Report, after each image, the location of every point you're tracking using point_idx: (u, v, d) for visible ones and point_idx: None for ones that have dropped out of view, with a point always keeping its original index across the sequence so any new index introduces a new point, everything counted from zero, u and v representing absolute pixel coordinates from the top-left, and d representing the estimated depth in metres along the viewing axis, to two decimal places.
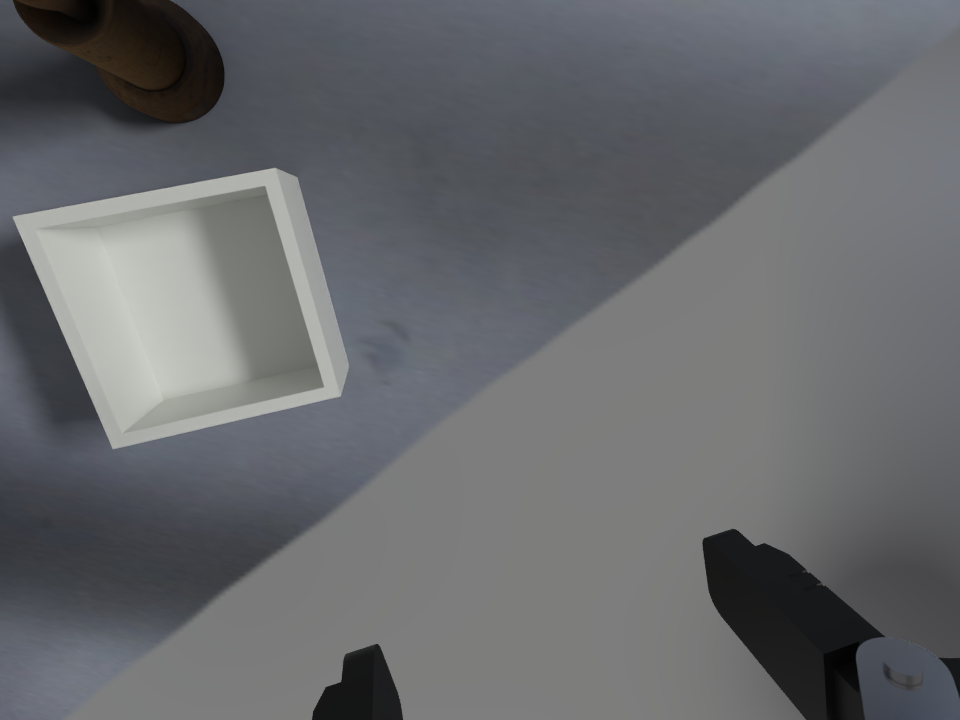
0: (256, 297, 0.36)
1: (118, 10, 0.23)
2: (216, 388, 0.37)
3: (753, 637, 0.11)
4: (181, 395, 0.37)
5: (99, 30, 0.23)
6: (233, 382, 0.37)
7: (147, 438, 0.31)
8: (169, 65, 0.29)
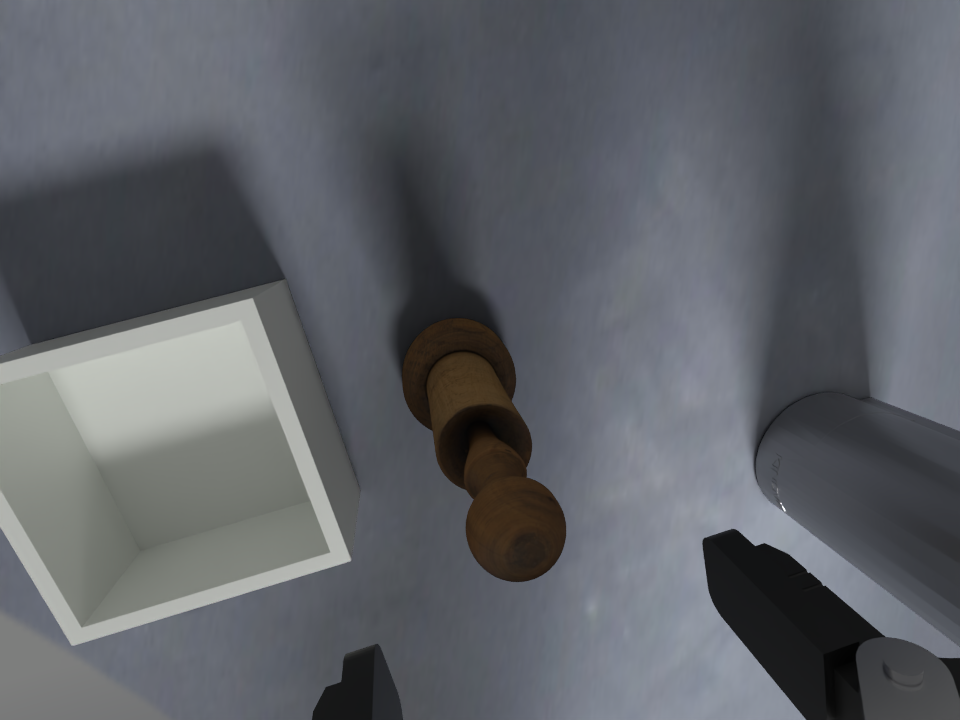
0: (212, 466, 0.30)
1: None
2: (74, 422, 0.28)
3: (753, 637, 0.11)
4: (54, 381, 0.27)
5: (456, 479, 0.21)
6: (87, 442, 0.29)
7: None
8: None
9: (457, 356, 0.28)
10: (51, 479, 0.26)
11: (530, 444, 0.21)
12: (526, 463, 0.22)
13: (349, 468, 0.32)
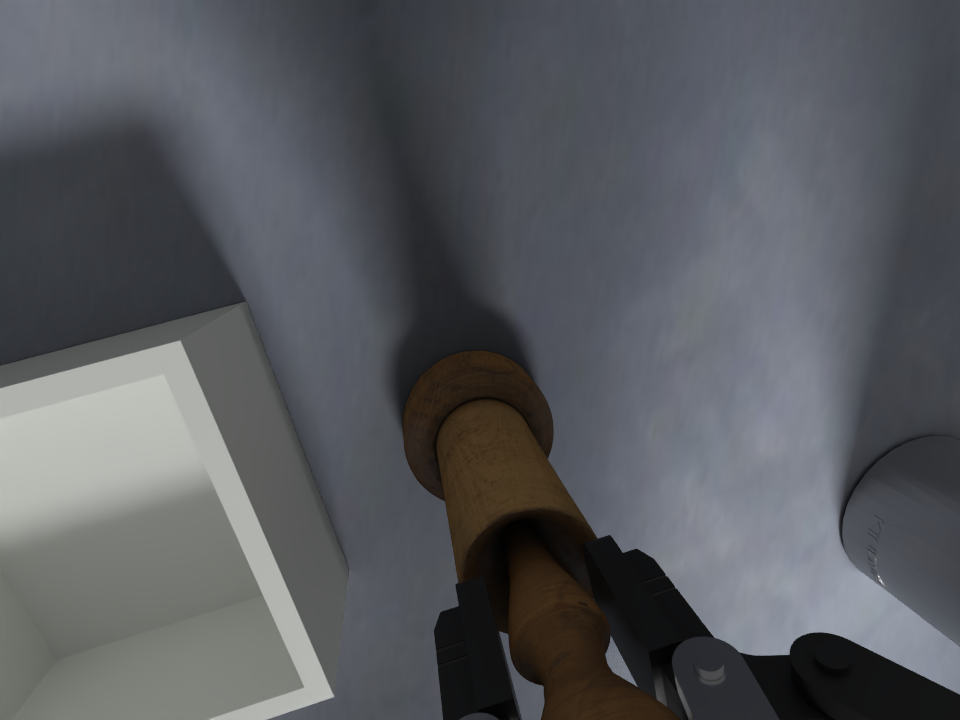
0: (150, 549, 0.23)
1: None
2: None
3: (617, 636, 0.12)
4: None
5: None
6: None
7: None
8: None
9: (478, 406, 0.20)
10: None
11: None
12: None
13: (334, 546, 0.24)
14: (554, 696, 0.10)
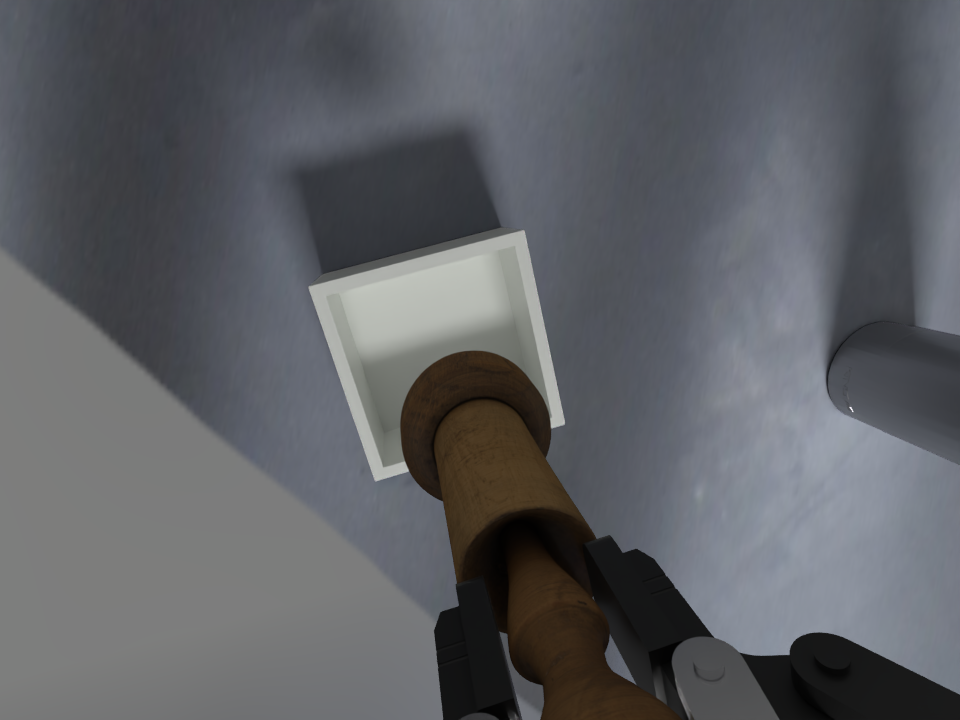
0: None
1: None
2: (351, 331, 0.39)
3: (617, 636, 0.12)
4: (341, 300, 0.38)
5: None
6: (358, 346, 0.39)
7: (322, 318, 0.32)
8: None
9: (475, 406, 0.20)
10: (355, 365, 0.36)
11: None
12: None
13: None
14: (554, 695, 0.10)
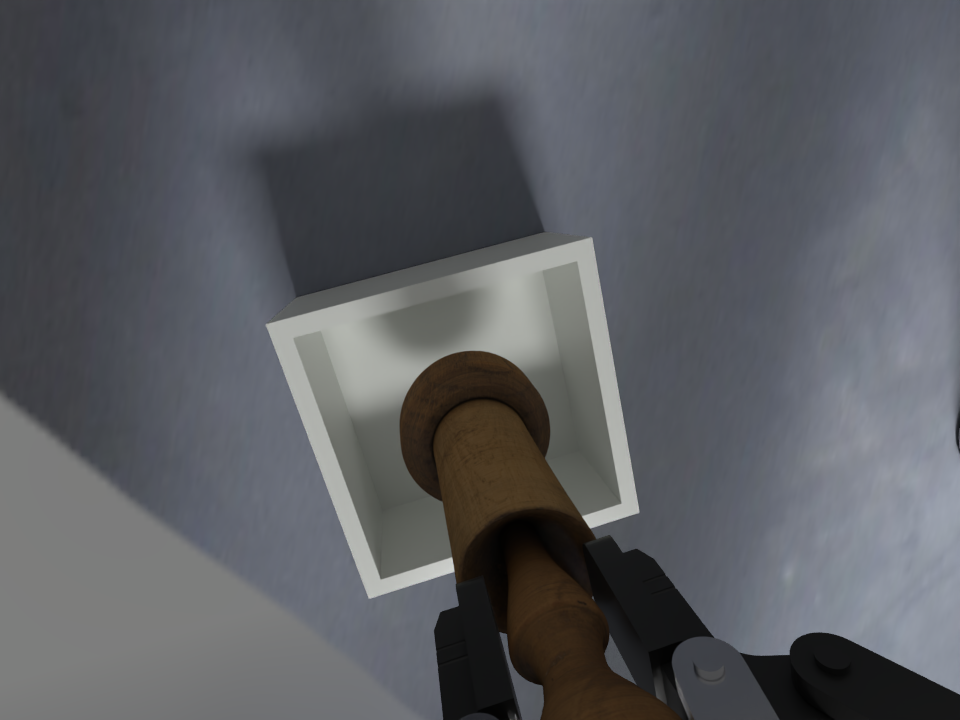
0: None
1: None
2: (336, 377, 0.28)
3: (617, 636, 0.12)
4: (323, 334, 0.27)
5: None
6: (346, 397, 0.28)
7: (287, 371, 0.21)
8: None
9: (475, 406, 0.20)
10: (341, 430, 0.25)
11: None
12: None
13: None
14: (554, 695, 0.10)
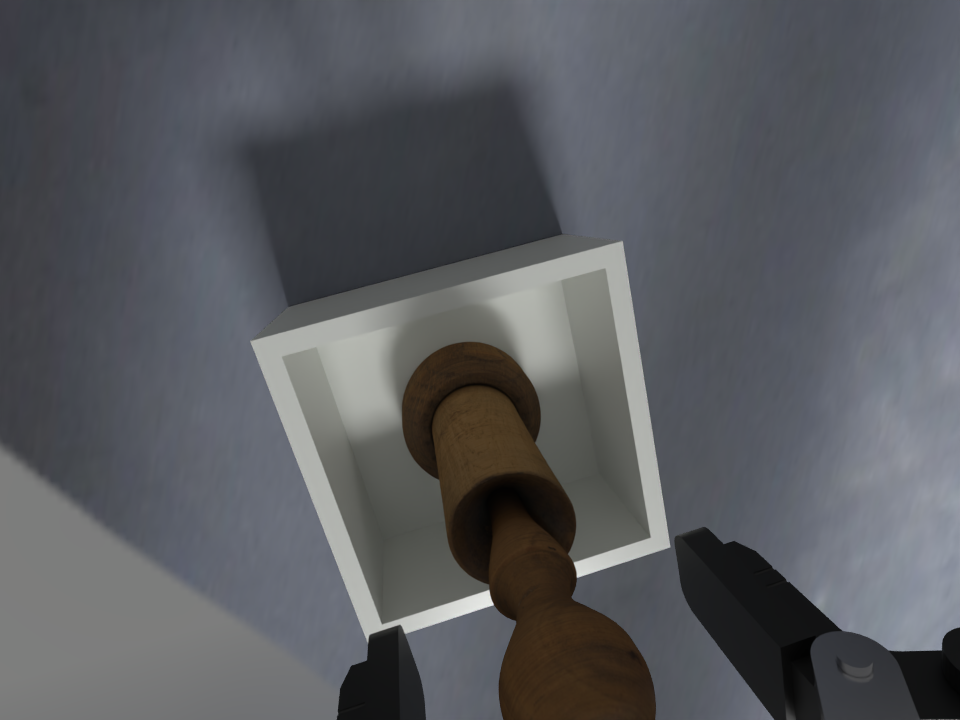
0: None
1: None
2: (333, 395, 0.25)
3: (720, 632, 0.12)
4: (318, 347, 0.24)
5: (474, 570, 0.16)
6: (344, 417, 0.25)
7: (276, 394, 0.19)
8: None
9: (470, 391, 0.22)
10: (337, 456, 0.22)
11: (574, 523, 0.16)
12: (568, 548, 0.16)
13: None
14: (522, 617, 0.11)
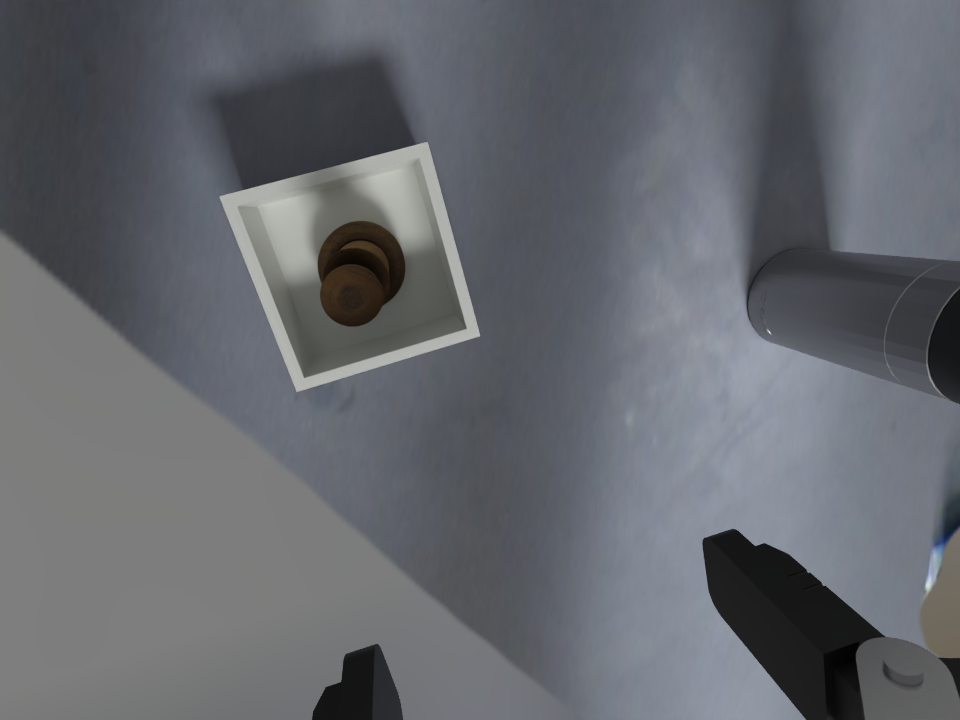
0: None
1: None
2: (275, 255, 0.40)
3: (753, 637, 0.11)
4: (264, 223, 0.39)
5: None
6: (283, 270, 0.40)
7: (234, 228, 0.34)
8: None
9: (354, 241, 0.37)
10: (276, 282, 0.38)
11: (388, 278, 0.31)
12: (386, 292, 0.31)
13: None
14: None
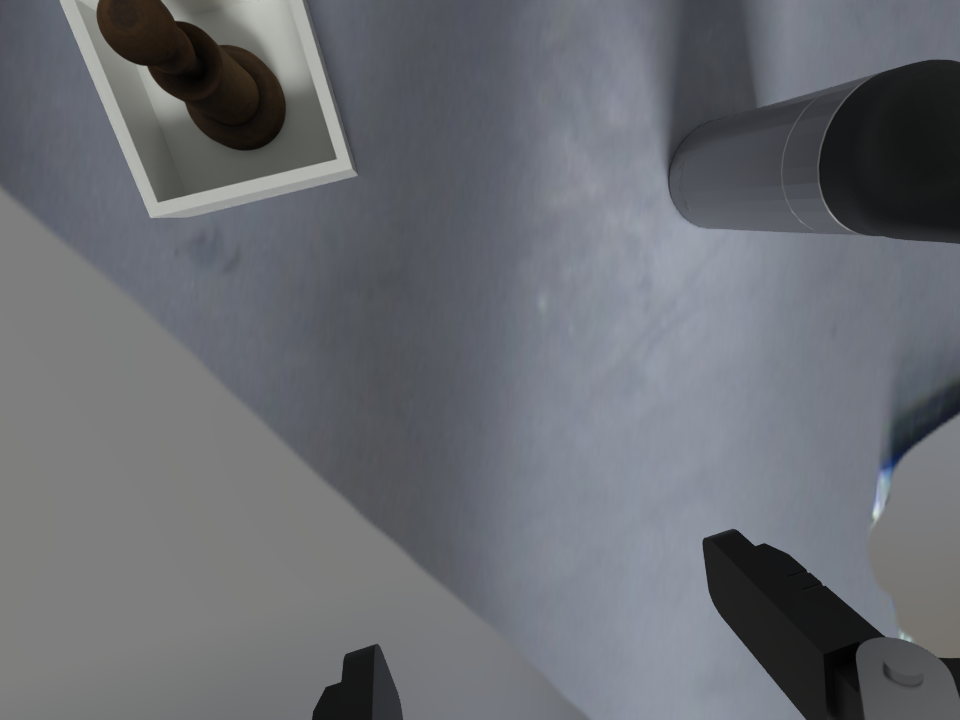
0: None
1: (188, 101, 0.29)
2: (144, 86, 0.38)
3: (753, 637, 0.11)
4: None
5: (164, 86, 0.29)
6: (153, 104, 0.38)
7: (71, 22, 0.31)
8: (210, 116, 0.35)
9: None
10: (133, 103, 0.35)
11: (220, 60, 0.29)
12: (219, 77, 0.29)
13: (349, 148, 0.41)
14: None
